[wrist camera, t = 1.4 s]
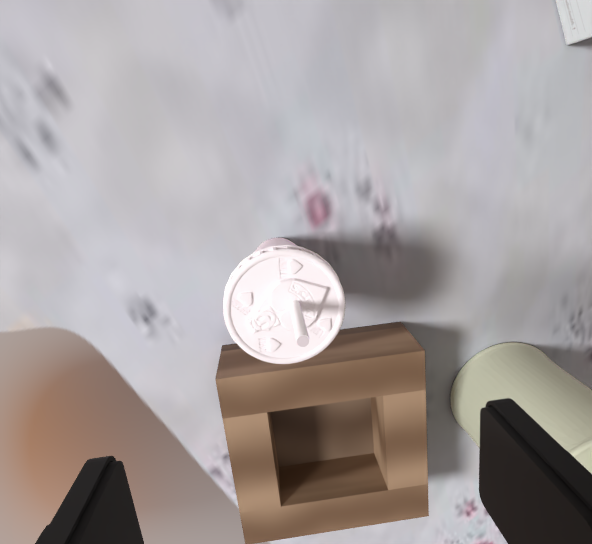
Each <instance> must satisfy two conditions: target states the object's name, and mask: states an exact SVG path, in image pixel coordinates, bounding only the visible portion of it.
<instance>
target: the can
mask: <svg viewBox="0 0 592 544" xmlns="http://www.w3.org/2000/svg"><path fill="white" fill-rule="evenodd" d="M505 398H511V399H512V400H514V401H515V402H516V403H517V404H518V405H519V406H520V407H521V408H522V409H523V410H524V411H525V412H526V413H527V414H528V415H529V416H531V417H532V418H533V419H534V420H535V421H536V422H537V423H538V424H539V425H540V426H541V427H542V428H543V429H544V430H545V431H546V432H547V433H548V434H549V435H550V436H551V437H553V438H554V439H555V440H556V441H557V442H558V443H559V444H560V445H561V446H562V447H563V448H564V449H565V450H567V451H568V452H569V453H570V454H571V455H572V456H573V457H574V458H575V459H576V460H577V461H579V462H580V463H581V464H582V465H583V466H584V467H585V468H586V469H587V470H588V471H589V472H590V473H591V474H592V390H591V389H590V388H588V387H587V386H586V385H584V384H583V383H581V382H580V381H579V380H577V379H576V378H574V377H573V376H572V375H570V374H569V373H567V372H566V371H565V370H563V369H562V368H561V367H559V366H558V365H557V364H555V363H554V362H553V361H551V360H550V359H549V358H548V357H547V356H546V355H545V354H544V353H543V352H542V351H540V350H539V349H537V348H535V347H533V346H531V345H528V344H524V343H517V342H509V343H501V344H497V345H494V346H491V347H488V348H486V349H484V350H482V351H481V352H479V353H477V354H476V355H475V356H473V357H472V358H471V359H470V360H469V361H468V362H467V363H466V364H465V365H464V366H463V367H462V368H461V370H460V371H459V373H458V374H457V376H456V378H455V380H454V383H453V386H452V390H451V396H450V402H451V409H452V413H453V415H454V417H455V419H456V421H457V423H458V424H459V425H460V426H461V427H462V428H463V429H464V430H465V431H466V432H467V433H468V434H469V436H470V437H471V438H472V439H473V441H474V442H475V443H476V444H477V446H478V447H479V448H480V410H481V408H484V407H486V403H487V402H488V401H491V400H498V399H505Z"/></svg>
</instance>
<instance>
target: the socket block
mask: <svg viewBox="0 0 592 544" xmlns="http://www.w3.org/2000/svg"><path fill="white" fill-rule="evenodd" d="M216 385H217V390H218V396H219V401H220V407H221V412H222V418H223V423H224V429H225V434H226V440H227V445H228V451H229V456H230V462H231V467H232V473H233V478H234V484H235V489H236V495H237V500H238V506H239V511H240V516H241V521H242V528H243V533H244V538H245V544H254V543H260V542H267V541H273V540H279V539H286V538H292V537H298V536H305V535H311V534H317V533H324V532H330V531H336V530H343V529H349V528H355V527H362V526H368V525H375V524H381V523H387V522H394V521H400V520H406V519H413V518H419V517H425V516H429V513H428V468H427V423H426V379H425V350H424V349H423V348H422V347H421V345H420V344H419V343H418V342H417V341H416V339H415V338H414V337H413V336H412V335H411V333H410V332H409V331H408V330H407V329H406V327H405V326H404V325H403V324H402V323H401V322H395V323H387V324H380V325H372V326H365V327H357V328H350V329H343V330H339V332H338V334H337V335H336V337H335V338H334V340H333V341H332V342H331V343H330V344H329V345H328V346H327V347H326V348H325V349H324V350H323V351H321V352H320V353H318V354H317V355H315V356H313V357H311V358H309V359H307V360H304V361H301V362H297V363H291V364H275V363H269V362H265V361H262V360H259V359H257V358H255V357H253V356H251V355H250V354H248V353H246V352H245V351H244V350H243V349H242V348H241V347H239V346H238V344H230V345H223V346H222V349H221V354H220V359H219V364H218V369H217V374H216Z"/></svg>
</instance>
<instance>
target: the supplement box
mask: <svg viewBox="0 0 592 544" xmlns="http://www.w3.org/2000/svg"><path fill="white" fill-rule="evenodd" d="M556 4H557V8H558V12H559V15H560V20H561V24H562V28H563V32H564V37H565V41H566V44H567V45H570V44H574V43H577V42H580V41H583V40H586V39H588V38H591V37H592V0H556Z"/></svg>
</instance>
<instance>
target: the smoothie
mask: <svg viewBox="0 0 592 544" xmlns="http://www.w3.org/2000/svg"><path fill="white" fill-rule="evenodd" d="M223 312H224V319H225V323H226V326H227V329H228V331H229V333H230V335H231V337H232V338H233V339H234V341H235V342H236V343H237V344H238V346H239V347H241V348H242V349H243V350H244V351H245V352H246V353H248V354H250V355H251V356H253V357H255V358H257V359H259V360H262V361H265V362H269V363H275V364H291V363H297V362H301V361H304V360H307V359H309V358H311V357H313V356H315V355H317V354H318V353H320V352H321V351H323V350H324V349H325V348H326V347H327V346H328V345H329V344H330V343H331V342H332V341H333V340H334V338H335V337H336V335H337V334H338V332H339V330H340V328H341V326H342V323H343V320H344V315H345V296H344V291H343V288H342V285H341V283H340V281H339V278H338V275H337V274H336V272H335V271H334V270H333V268H332V267H331V265H330V264H329V263H328V262H327V261H326V260H324V259H323V258H322V257H321V256H320V255H318V254H317V253H315V252H313V251H310V250H308V249H306V248H304V247H299V246H297V245H296V244H294V243H293V242H291V241H290V240H288V239H284V238H271V239H268V240H266V241H264V242H263V243H261V244H260V245H259V246H258V248H257V249H256V250H255V252H254V253H252V254H251V255H250V256H248V257H247V258H245V259H244V260H242V261H241V263H240V264H239V265H238V266H237V267H236V269H235V270H234V271H233V272H232V273H231V276H230V278H229V280H228V282H227V285H226V287H225V292H224V299H223Z"/></svg>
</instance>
